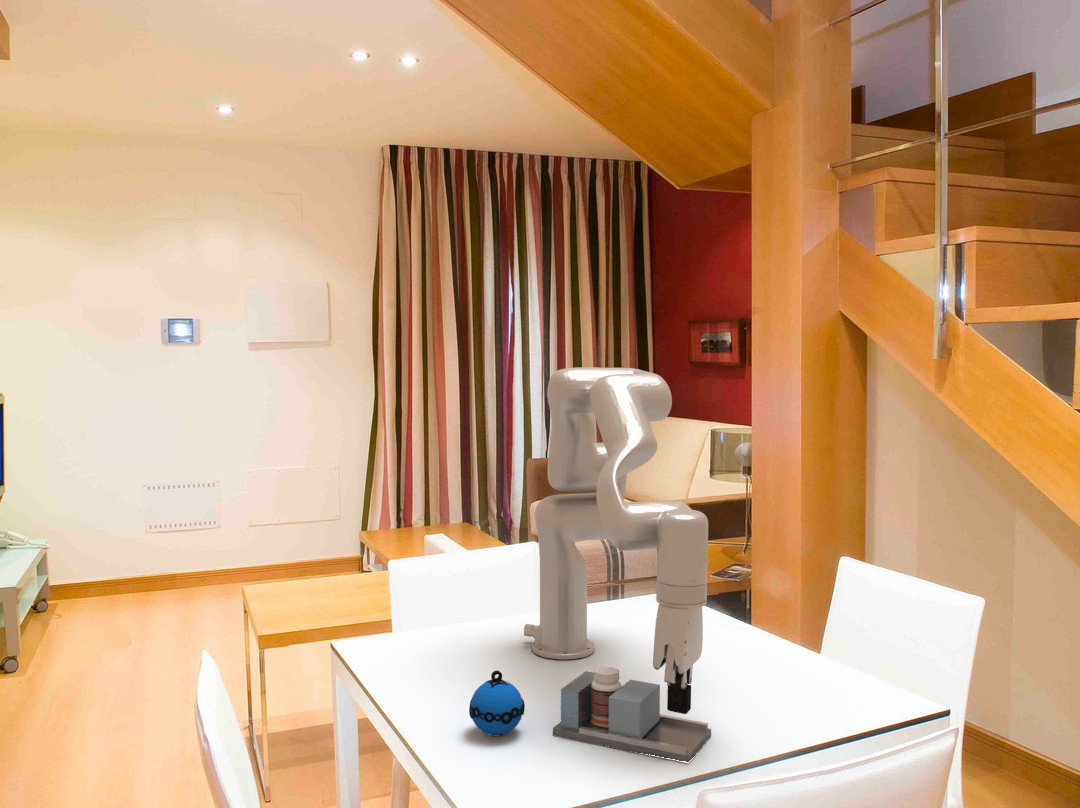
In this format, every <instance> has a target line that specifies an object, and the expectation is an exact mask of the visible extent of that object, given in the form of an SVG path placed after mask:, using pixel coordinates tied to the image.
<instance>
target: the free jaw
mask: <svg viewBox="0 0 1080 808" xmlns="http://www.w3.org/2000/svg"><path fill="white" fill-rule="evenodd" d="M621 686H622V687H621V688H620V689H618V690H617V691H616V692H615V693H613V694H612V695H611V696H610V697H609V732H612V733H617V734H622V735H627V736H632V737H636V738H642V737H643V736H644V735H645V734H646V733H647V732H648V731H649V730H650V729H651V728H652V727H653V726H654V725H655V724H656V723H657V722H658V721H659V720H660V714H661V713H660V712H661V711H660V710H661V707H660V706H661V685H660V684H658V683H651V682H647V681H641V680H636V679H635V680H634V679H629V680H628V681H627V682H625V684H623V685H621Z"/></svg>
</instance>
